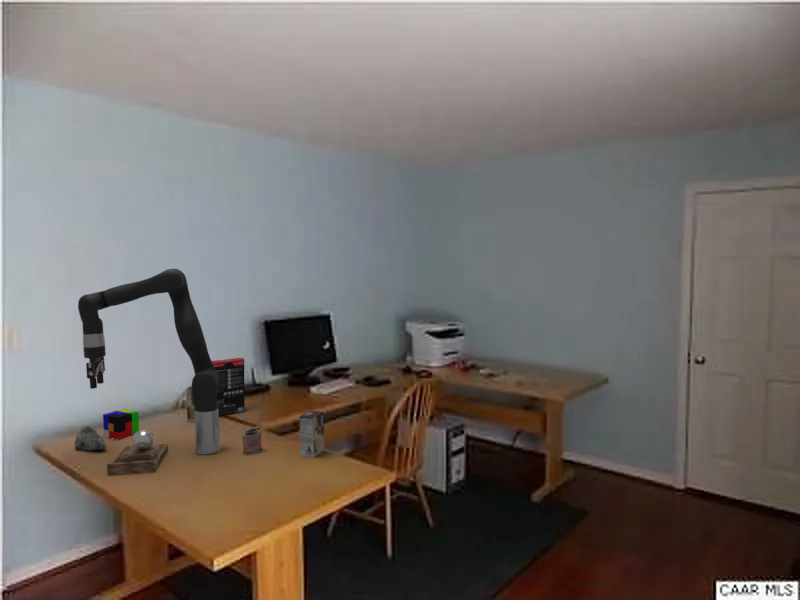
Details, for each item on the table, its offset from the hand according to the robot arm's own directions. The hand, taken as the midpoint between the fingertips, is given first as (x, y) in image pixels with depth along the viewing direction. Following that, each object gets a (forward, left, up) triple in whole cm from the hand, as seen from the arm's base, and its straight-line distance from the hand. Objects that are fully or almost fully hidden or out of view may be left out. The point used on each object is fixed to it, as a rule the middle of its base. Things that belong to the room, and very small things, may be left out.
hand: (97, 385), depth 228 cm
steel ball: (-17, +3, -22) cm, 28 cm away
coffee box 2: (-83, +13, -28) cm, 88 cm away
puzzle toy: (-1, -26, -29) cm, 39 cm away
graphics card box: (-43, -52, -29) cm, 73 cm away
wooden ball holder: (-17, +10, -28) cm, 34 cm away
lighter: (-59, +7, -28) cm, 66 cm away
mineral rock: (+6, -8, -29) cm, 30 cm away
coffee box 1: (-31, -43, -29) cm, 60 cm away
